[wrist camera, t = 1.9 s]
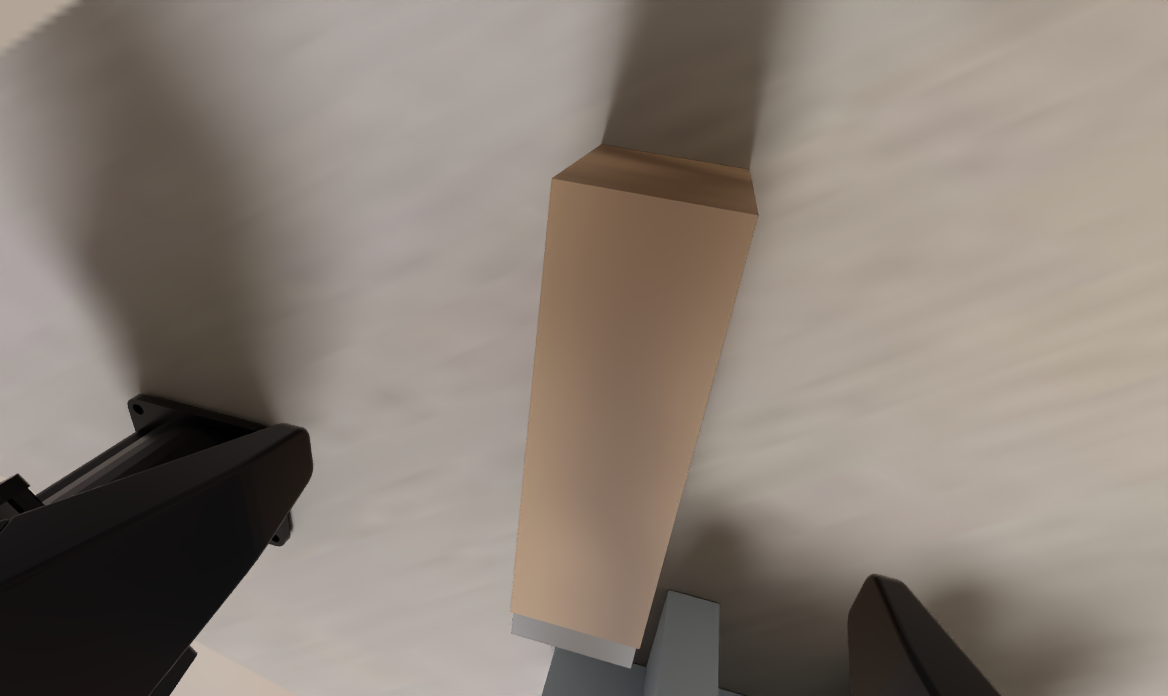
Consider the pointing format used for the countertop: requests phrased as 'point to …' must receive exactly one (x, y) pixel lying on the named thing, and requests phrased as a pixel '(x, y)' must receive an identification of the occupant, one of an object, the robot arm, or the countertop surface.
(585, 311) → the light brown long block
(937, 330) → the countertop surface
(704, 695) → the grey buttressed wall
